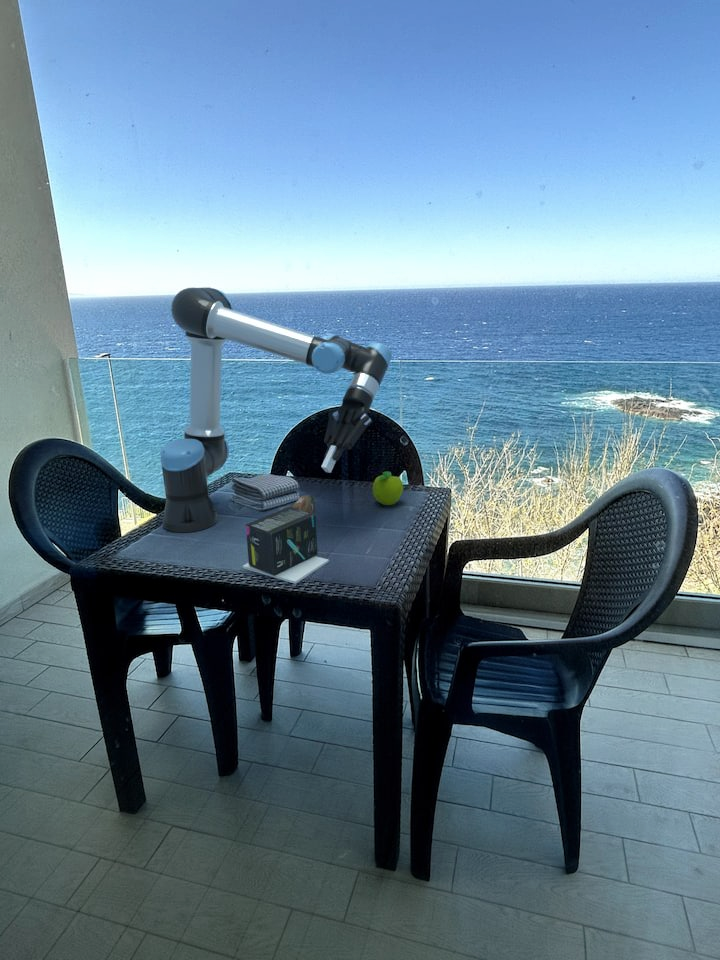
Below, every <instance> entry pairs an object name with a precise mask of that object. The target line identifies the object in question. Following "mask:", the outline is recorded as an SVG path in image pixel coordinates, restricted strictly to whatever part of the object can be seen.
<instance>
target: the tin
mask: <svg viewBox="0 0 720 960" xmlns="http://www.w3.org/2000/svg"><path fill="white" fill-rule="evenodd" d="M299 497H300V498H299V499H298V500H296V501H295V502H294V504H293V505H292V506H291V507H292V508H295V509H298V510H301V511H304V512H307V513H310V514H314V515H315V516H316V512H315V511H316V509H315V508H316V507H315V501H314V498H313V497H314V496H312V495H311V494H308V495H307V494H306V495H301V496H299Z"/></svg>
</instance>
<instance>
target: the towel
mask: <svg viewBox="0 0 720 960" xmlns="http://www.w3.org/2000/svg"><path fill="white" fill-rule="evenodd" d="M231 482H232V483H233V484H232V485H231V489H232V490H233V491H234V492H232V493H231V496H230V497H229V501H230V502H232V501H234V502H233V503H235V504H238V503H239V505H241V506H243V507H247V508H249V509H254V510H256V511H266V510H269V509H274V508H276V507H280V506H282V505H286V504H289V503H292V502H296V501H297V500H298V499H299V498H300V497H301V496H300V493H299V492H298V490H300V484H299V483H298V481H297V480H295V479H294V478H293V477H290V476H282V475H275V474H271V473H262V474H259V475H255V476H252V477H250V478H247V479H243V478H241V477H233V478H232V479H231Z"/></svg>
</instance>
